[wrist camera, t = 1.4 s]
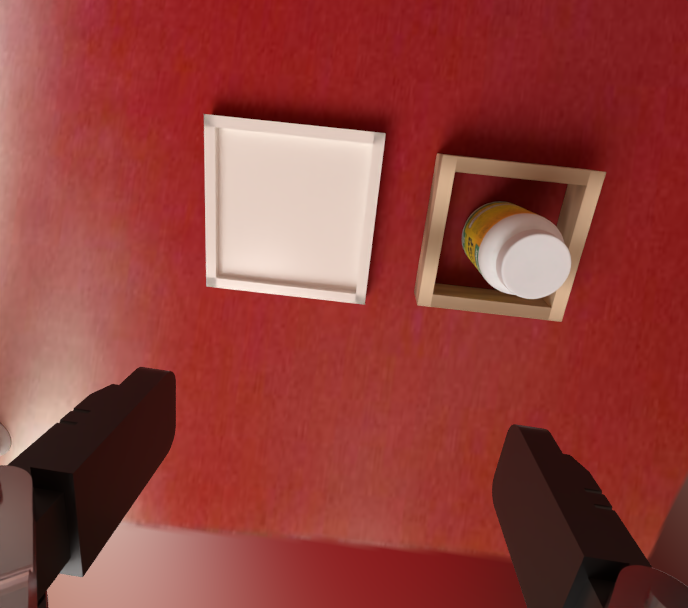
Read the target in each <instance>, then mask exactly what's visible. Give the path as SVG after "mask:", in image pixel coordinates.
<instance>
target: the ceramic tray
mask: <svg viewBox="0 0 688 608" xmlns="http://www.w3.org/2000/svg"><path fill="white" fill-rule="evenodd" d="M385 135H386V133H379V132H369V131H360V130H350V129H341V128H331V127H322V126H312V125H303V124H294V123H284V122H275V121H265V120H256V119H246V118H237V117H227V116H218V115H208V114H204V152H205V224H206V286H208V287H217V288H225V289H234V290H243V291H252V292H260V293H269V294H278V295H287V296H295V297H304V298H313V299H321V300H330V301H339V302H348V303H356V304H365V297H366V289H367V281H368V273H369V265H370V257H371V249H372V241H373V233H374V224H375V216H376V208H377V200H378V192H379V184H380V176H381V168H382V160H383V152H384V144H385Z"/></svg>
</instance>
